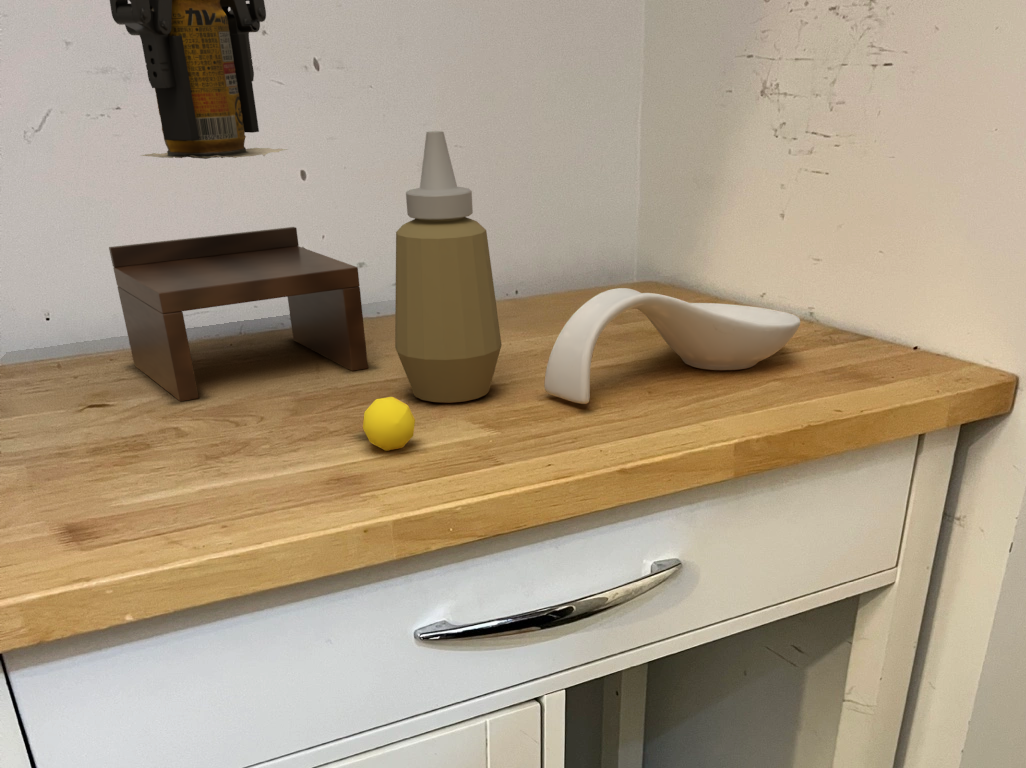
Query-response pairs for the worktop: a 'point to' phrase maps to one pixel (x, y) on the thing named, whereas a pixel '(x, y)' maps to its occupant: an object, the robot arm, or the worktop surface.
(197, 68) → the condiment
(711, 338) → the spoon rest
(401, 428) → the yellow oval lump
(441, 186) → the squeeze bottle
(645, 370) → the worktop surface
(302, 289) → the walnut shelf
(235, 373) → the worktop surface
